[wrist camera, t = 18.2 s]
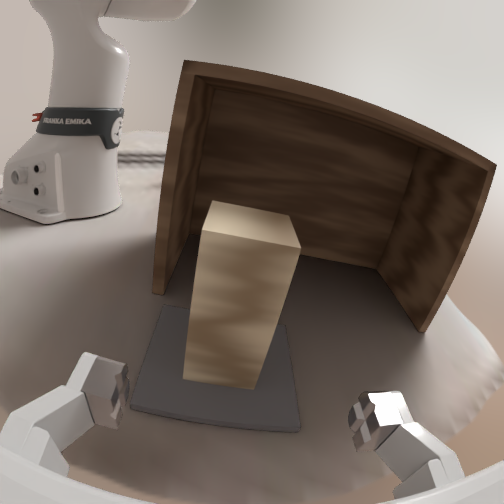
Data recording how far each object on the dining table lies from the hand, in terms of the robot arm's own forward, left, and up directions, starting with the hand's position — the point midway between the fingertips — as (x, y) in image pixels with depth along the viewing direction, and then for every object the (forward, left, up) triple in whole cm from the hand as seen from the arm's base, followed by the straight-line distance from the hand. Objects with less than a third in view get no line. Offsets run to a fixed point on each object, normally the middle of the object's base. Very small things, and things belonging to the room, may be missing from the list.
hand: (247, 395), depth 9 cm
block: (0, +8, -7) cm, 11 cm away
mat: (0, +8, -8) cm, 11 cm away
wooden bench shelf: (+7, +22, -8) cm, 25 cm away
